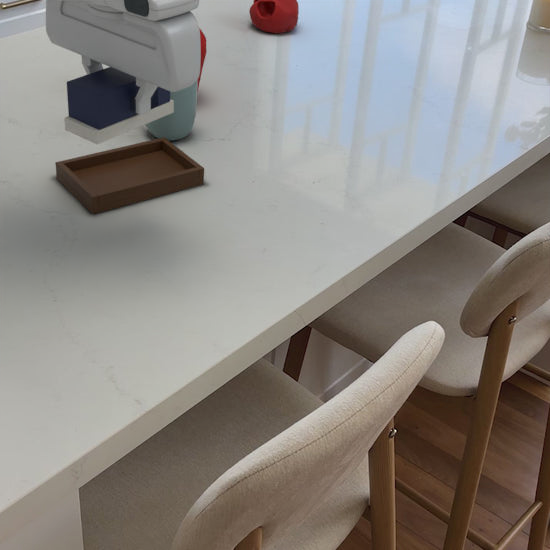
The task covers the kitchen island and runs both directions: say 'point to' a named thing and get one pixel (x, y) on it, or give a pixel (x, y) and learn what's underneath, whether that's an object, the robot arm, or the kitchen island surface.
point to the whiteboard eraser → (109, 105)
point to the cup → (177, 115)
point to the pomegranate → (274, 15)
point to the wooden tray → (129, 174)
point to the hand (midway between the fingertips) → (120, 103)
